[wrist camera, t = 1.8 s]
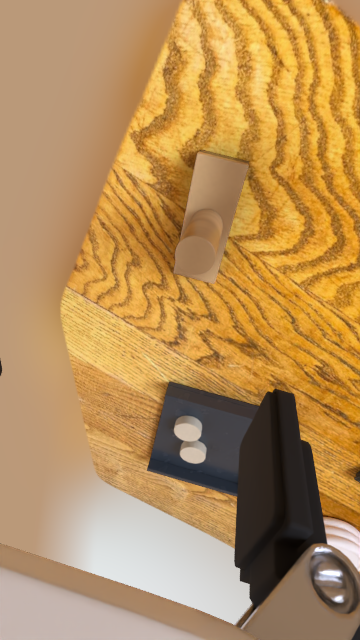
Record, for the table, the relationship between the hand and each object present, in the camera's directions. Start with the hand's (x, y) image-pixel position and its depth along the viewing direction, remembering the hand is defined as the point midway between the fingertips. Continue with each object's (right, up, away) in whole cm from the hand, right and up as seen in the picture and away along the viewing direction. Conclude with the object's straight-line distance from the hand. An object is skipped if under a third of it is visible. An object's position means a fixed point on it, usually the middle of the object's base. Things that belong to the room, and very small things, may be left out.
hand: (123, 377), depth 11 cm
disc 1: (+3, -11, +28) cm, 30 cm away
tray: (+6, -13, +29) cm, 32 cm away
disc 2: (+4, -14, +30) cm, 33 cm away
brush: (+4, +10, +15) cm, 18 cm away
